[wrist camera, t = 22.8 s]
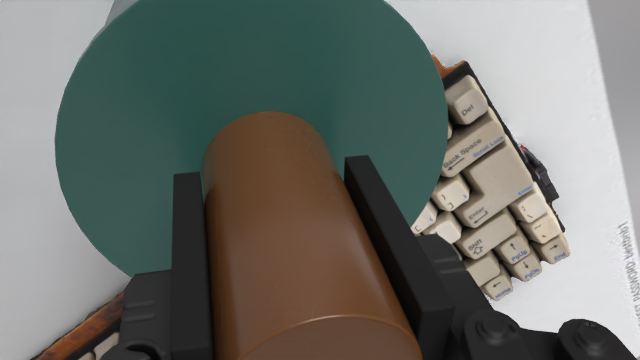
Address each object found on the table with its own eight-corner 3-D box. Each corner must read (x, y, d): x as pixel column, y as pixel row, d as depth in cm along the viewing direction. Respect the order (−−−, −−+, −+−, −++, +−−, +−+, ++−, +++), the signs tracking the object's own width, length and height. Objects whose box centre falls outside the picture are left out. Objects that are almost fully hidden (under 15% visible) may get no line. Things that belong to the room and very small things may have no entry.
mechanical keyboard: (194, 470, 46) (195, 510, 44) (-6, 382, 36) (-21, 428, 33) (569, 217, 40) (598, 246, 37) (453, 21, 29) (482, 41, 27)
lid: (7, -39, 15) (-228, 136, 6) (462, -51, 17) (732, 62, 9) (106, 308, 22) (60, 602, 13) (415, 264, 24) (537, 490, 16)
